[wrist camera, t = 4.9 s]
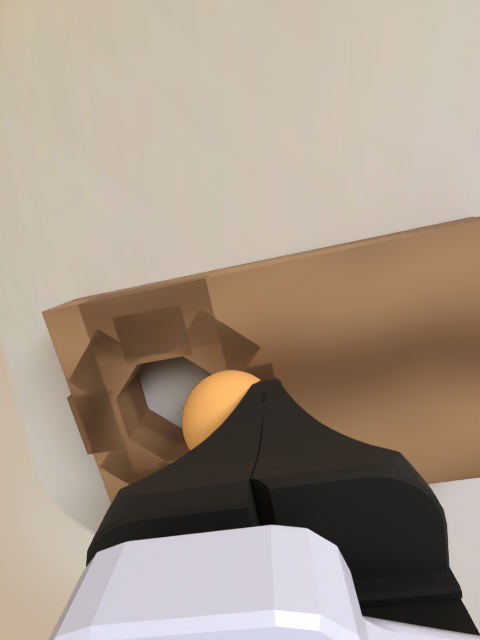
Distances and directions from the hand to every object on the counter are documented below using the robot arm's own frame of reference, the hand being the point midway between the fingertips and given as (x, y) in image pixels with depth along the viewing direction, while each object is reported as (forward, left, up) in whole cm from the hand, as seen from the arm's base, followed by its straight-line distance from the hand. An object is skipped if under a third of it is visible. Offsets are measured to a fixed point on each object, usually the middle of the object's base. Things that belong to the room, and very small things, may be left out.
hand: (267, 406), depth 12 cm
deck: (0, -1, -4) cm, 4 cm away
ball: (0, +1, 0) cm, 1 cm away
